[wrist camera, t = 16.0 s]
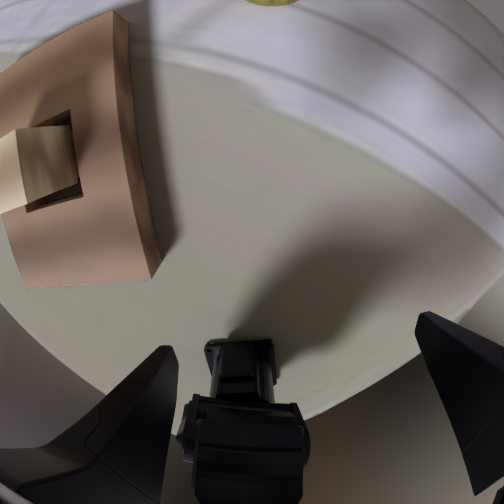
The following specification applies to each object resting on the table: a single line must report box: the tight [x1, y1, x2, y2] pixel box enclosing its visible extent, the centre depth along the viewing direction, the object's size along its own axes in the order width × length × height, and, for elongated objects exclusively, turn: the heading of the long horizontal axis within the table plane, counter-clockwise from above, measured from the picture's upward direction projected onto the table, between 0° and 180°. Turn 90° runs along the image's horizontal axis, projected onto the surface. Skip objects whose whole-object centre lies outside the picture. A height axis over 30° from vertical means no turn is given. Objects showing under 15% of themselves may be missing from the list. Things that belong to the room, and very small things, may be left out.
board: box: [0, 10, 162, 289], centre depth 17 cm, size 20×14×3 cm
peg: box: [0, 125, 80, 214], centre depth 15 cm, size 4×4×8 cm
